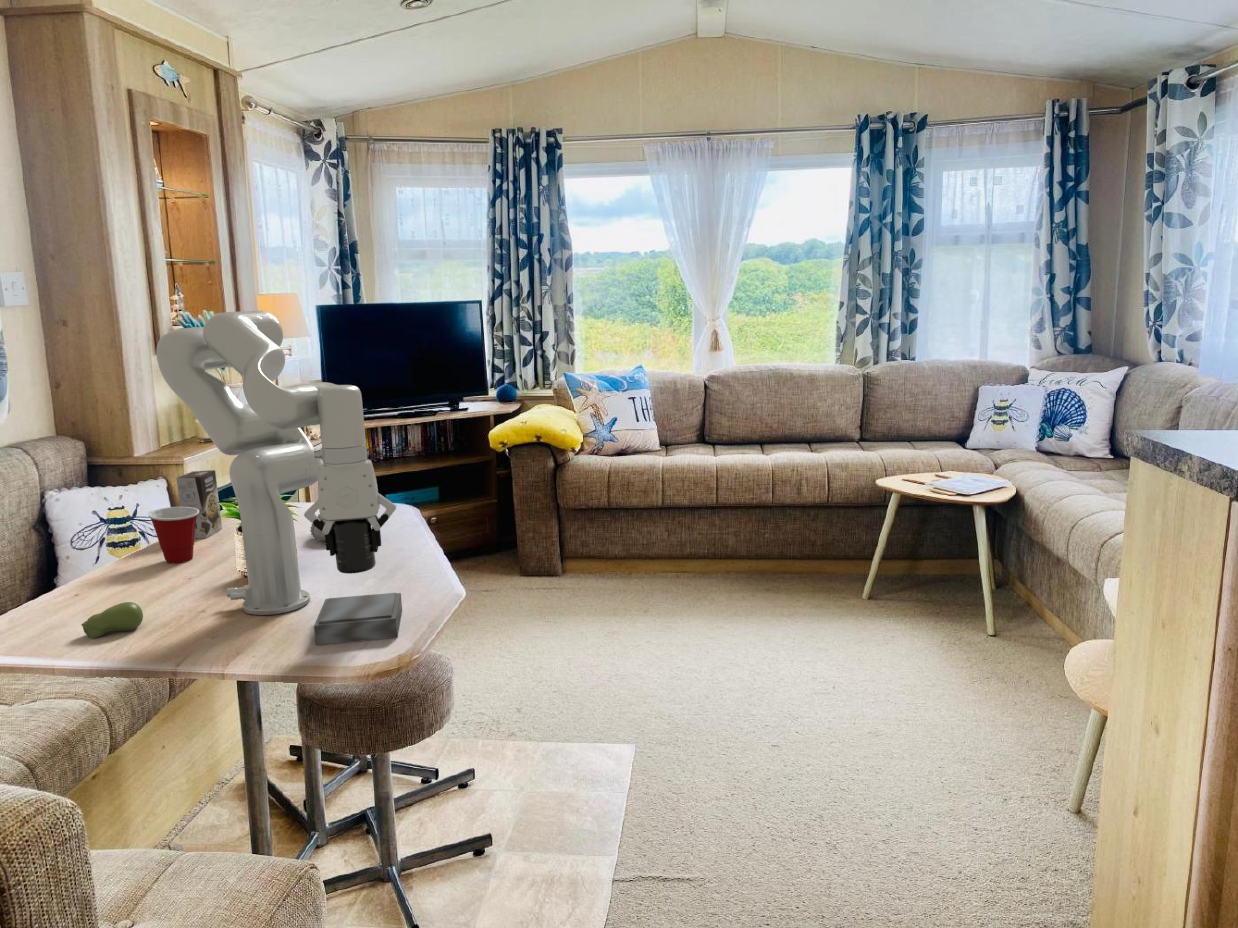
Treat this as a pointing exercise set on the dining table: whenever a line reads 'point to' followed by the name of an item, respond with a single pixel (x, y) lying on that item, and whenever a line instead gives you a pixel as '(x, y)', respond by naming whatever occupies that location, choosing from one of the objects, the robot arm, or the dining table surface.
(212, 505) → the coffee box
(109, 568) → the dining table surface
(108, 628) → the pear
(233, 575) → the dining table surface
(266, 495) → the robot arm
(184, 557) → the plastic cup
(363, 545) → the supplement bottle
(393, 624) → the grey square block
